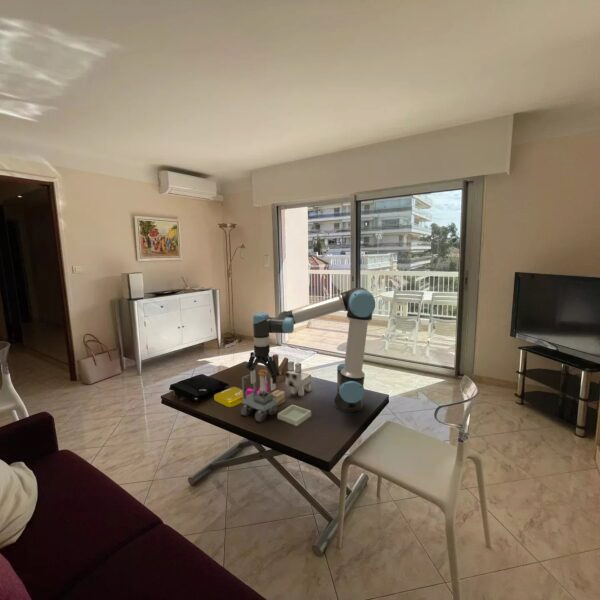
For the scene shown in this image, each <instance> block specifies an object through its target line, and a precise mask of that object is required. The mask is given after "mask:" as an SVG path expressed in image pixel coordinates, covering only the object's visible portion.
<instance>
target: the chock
mask: <svg viewBox="0 0 600 600" xmlns="http://www.w3.org/2000/svg"><path fill="white" fill-rule="evenodd" d="M271 393H272V394H273V398H275V399H276V404H277V407H278V406H281V404H283V403H285V402H286V396H285V395H286V392H285V391H283V390H280V389H277V390H276V389H275V390H273V392H271Z"/></svg>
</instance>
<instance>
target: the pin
mask: <svg viewBox="0 0 600 600" xmlns="http://www.w3.org/2000/svg"><path fill="white" fill-rule="evenodd" d="M268 373H269V371H268V369H264V368H263V369H259V370H257V374H258V375H259V388H260V396H263V397H265V396H267V384H266V381H267V375H268Z"/></svg>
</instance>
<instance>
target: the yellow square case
mask: <svg viewBox="0 0 600 600" xmlns="http://www.w3.org/2000/svg"><path fill="white" fill-rule="evenodd" d="M213 397H214V401H215V402H217V403H219V404H220V405H222V406H225V407H226V408H232V407H235V406H238V405H239V404H243V403H242V398H243V393H242V389H241V388H240V387H236V386H232V387H229V388H227V389H224V390H222V391H220V392H217V393H215V394H214V395H213Z"/></svg>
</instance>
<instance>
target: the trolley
mask: <svg viewBox="0 0 600 600" xmlns="http://www.w3.org/2000/svg"><path fill="white" fill-rule="evenodd" d="M255 375H256V376H257V373H256V371H255ZM248 379H251V376H250V373H249V374H247V375H244V376H242V377H241V388H242V393H243V398H242V403H241V404H242V406H241V407H240V414H241V416H244V417H247V416H249V415H251V414H252V413H253V410H256V411H255V413H254V420H255V421H256V422H258V423H262V422H265V420H267V419H266V418H267V416H268V415H269V416H274V415H276V414H277V412H278V406H277V404H276V399H275V398H273V394H272V393H273V392H267V396H265V397H263V396H260V393H257V391H258V390H257V389H258V388H257V381H256V382H255V383H253V384H252V386H253V387H252V389H253V393H251V394H249V395H247V396H246V390H247V388H246V387H247V386H246V380H248Z"/></svg>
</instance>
